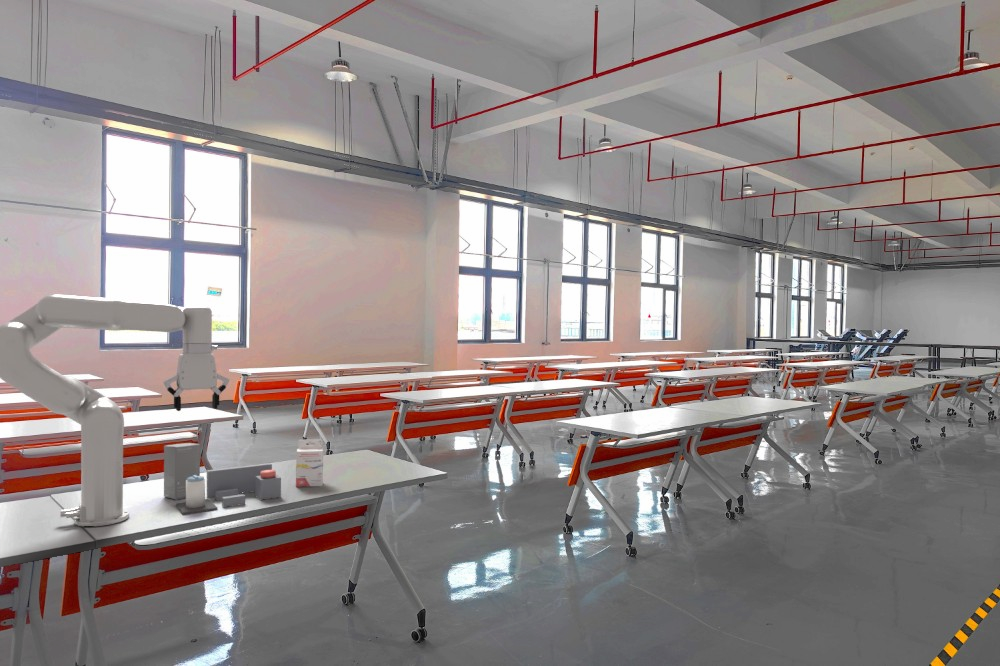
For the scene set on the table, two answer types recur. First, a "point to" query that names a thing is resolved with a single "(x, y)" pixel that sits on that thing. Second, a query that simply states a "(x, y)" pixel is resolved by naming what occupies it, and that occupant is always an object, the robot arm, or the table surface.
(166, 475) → the skincare box
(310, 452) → the ink cartridge box
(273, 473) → the plunger
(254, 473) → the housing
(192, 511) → the mat
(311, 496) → the table surface
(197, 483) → the block
